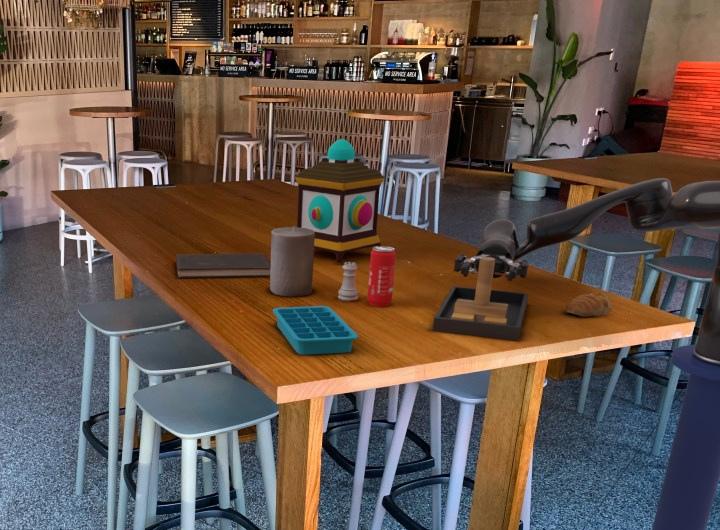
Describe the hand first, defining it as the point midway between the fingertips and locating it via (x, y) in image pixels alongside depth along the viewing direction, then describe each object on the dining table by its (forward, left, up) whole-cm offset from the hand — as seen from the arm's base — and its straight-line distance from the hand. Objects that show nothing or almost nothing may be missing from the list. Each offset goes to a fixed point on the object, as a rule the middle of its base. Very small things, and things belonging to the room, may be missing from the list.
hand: (487, 273), depth 158 cm
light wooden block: (-4, +9, -9) cm, 13 cm away
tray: (0, 0, -9) cm, 9 cm away
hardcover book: (+59, +30, -9) cm, 67 cm away
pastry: (-7, -22, -9) cm, 25 cm away
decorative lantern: (+61, -5, -9) cm, 62 cm away
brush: (-4, +4, -9) cm, 10 cm away
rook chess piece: (+23, +17, -9) cm, 30 cm away
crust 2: (-8, +5, -9) cm, 13 cm away
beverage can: (+17, +13, -9) cm, 23 cm away
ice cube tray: (+4, +38, -9) cm, 39 cm away
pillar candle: (+34, +25, -9) cm, 43 cm away
